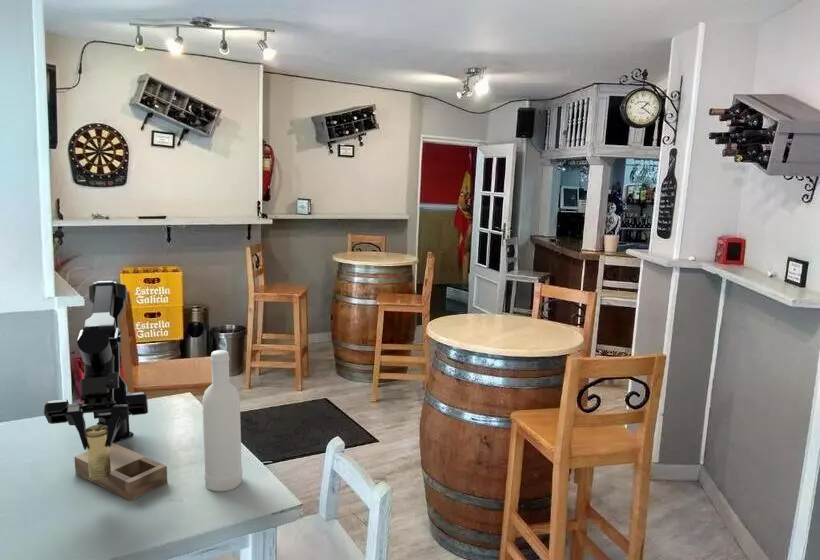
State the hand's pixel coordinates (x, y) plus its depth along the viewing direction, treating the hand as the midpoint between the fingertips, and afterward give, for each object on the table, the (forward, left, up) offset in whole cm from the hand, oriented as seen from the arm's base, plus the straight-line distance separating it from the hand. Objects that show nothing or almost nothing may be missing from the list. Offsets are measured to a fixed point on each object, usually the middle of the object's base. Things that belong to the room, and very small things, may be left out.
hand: (97, 447), depth 125 cm
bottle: (-21, +12, -13) cm, 28 cm away
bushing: (-1, -1, -7) cm, 7 cm away
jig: (-9, -8, -13) cm, 18 cm away
